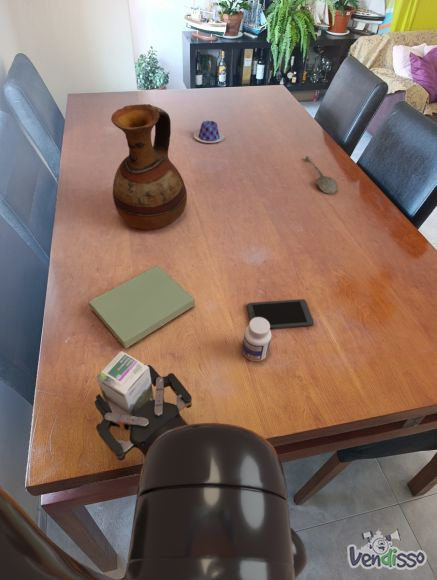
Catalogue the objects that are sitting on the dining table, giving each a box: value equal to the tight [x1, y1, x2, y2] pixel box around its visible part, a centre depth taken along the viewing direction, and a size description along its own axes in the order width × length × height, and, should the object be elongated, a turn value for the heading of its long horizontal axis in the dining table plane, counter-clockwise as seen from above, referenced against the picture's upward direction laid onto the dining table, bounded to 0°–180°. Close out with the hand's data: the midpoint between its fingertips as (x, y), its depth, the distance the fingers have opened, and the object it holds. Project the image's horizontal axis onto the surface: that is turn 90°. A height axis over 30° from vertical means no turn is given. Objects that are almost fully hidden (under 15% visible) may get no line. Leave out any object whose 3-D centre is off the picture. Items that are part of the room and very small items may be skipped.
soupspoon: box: [305, 155, 339, 195], centre depth 125 cm, size 22×3×7 cm
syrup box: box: [96, 350, 155, 416], centre depth 62 cm, size 6×6×14 cm
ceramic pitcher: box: [110, 103, 188, 230], centre depth 97 cm, size 20×20×30 cm
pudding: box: [193, 120, 226, 144], centre depth 140 cm, size 12×12×5 cm
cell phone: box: [246, 298, 314, 330], centre depth 83 cm, size 7×14×1 cm, turn 97°
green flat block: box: [88, 264, 196, 349], centre depth 82 cm, size 18×14×3 cm
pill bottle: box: [242, 317, 272, 362], centre depth 74 cm, size 5×5×9 cm
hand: (121, 381), depth 62 cm, fingers open, 8 cm apart
